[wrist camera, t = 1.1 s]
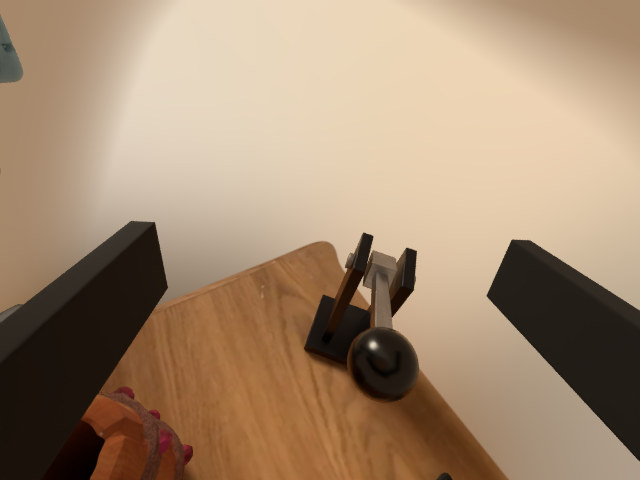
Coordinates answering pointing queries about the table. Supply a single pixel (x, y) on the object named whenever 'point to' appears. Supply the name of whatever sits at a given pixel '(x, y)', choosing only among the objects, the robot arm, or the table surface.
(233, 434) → the table surface
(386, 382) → the lever
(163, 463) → the mug
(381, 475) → the table surface
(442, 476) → the smartphone
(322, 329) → the switch
